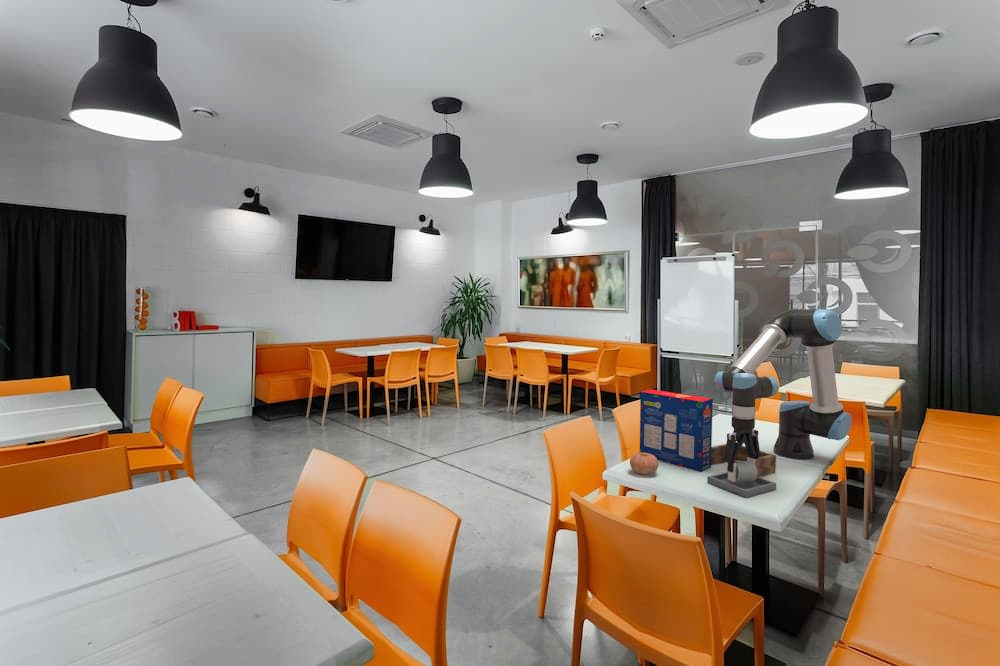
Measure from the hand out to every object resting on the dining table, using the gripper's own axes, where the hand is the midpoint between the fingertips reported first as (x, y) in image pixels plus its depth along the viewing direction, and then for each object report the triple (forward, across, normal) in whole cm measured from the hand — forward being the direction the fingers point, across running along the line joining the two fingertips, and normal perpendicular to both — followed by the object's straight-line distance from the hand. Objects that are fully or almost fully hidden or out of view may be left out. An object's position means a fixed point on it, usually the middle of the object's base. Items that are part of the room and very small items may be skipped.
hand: (741, 478), depth 183 cm
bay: (+3, -16, -13) cm, 21 cm away
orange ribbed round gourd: (+3, +21, -27) cm, 34 cm away
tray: (+3, 0, 0) cm, 3 cm away
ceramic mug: (+1, 0, -1) cm, 2 cm away
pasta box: (+3, 0, -32) cm, 32 cm away
